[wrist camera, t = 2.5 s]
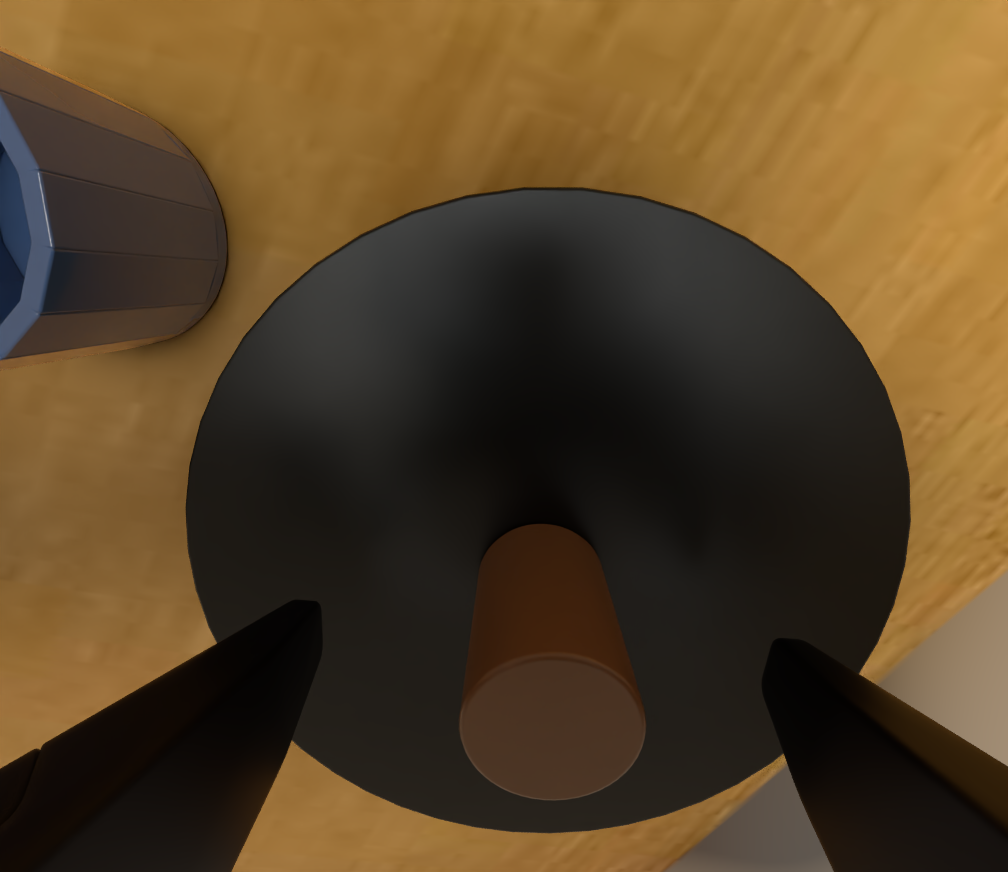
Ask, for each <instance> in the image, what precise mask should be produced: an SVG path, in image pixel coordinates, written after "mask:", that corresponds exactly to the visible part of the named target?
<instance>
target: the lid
mask: <svg viewBox="0 0 1008 872" xmlns="http://www.w3.org/2000/svg"><path fill="white" fill-rule="evenodd" d="M910 522H911V517H910V480H909V472H908V467H907V461H906V456H905V451H904V445H903V440H902V434H901V431H900V428H899V425H898V422H897V419H896V417H895V414H894V411H893V408H892V405H891V403H890V400H889V397H888V394H887V391H886V389H885V386H884V385H883V383H882V381H881V379H880V377H879V375H878V374H877V372H876V370H875V368H874V366H873V365H872V363H871V361H870V359H869V357H868V355H867V354H866V352H865V350H864V348H863V346H862V345H861V343H860V342H859V341H858V339H857V338H856V337H855V336H854V334H853V333H852V332H851V330H850V329H849V328H848V327H847V325H846V324H845V323H844V321H843V320H842V319H841V318H840V316H839V315H838V314H837V312H836V311H835V310H834V309H833V307H832V306H831V305H830V304H829V303H828V302H827V301H826V300H825V299H824V298H823V297H822V296H821V295H820V294H819V293H818V292H817V291H816V290H814V289H813V288H812V287H811V286H810V285H809V284H808V283H807V282H806V281H805V280H804V279H803V278H802V277H801V276H799V275H798V274H797V273H796V272H795V271H794V270H793V269H792V268H791V267H789V266H788V265H786V264H785V263H783V262H782V261H781V260H779V259H778V258H776V257H775V256H773V255H772V254H770V253H769V252H767V251H766V250H764V249H763V248H761V247H760V246H758V245H757V244H755V243H754V242H753V241H751V240H750V239H748V238H747V237H745V236H743V235H741V234H739V233H736V232H734V231H732V230H730V229H728V228H726V227H724V226H722V225H720V224H718V223H715V222H713V221H711V220H709V219H707V218H705V217H703V216H701V215H699V214H697V213H694V212H691V211H688V210H684V209H681V208H678V207H674V206H671V205H668V204H665V203H661V202H658V201H655V200H651V199H648V198H645V197H642V196H636V195H630V194H623V193H616V192H610V191H603V190H596V189H590V188H583V187H522V188H515V189H507V190H500V191H493V192H486V193H479V194H472V195H466V196H462V197H459V198H455V199H452V200H448V201H445V202H442V203H438V204H435V205H431V206H428V207H424V208H421V209H417V210H414V211H411V212H409V213H407V214H404V215H402V216H400V217H398V218H396V219H393V220H391V221H389V222H387V223H385V224H382V225H380V226H378V227H376V228H374V229H372V230H369V231H367V232H365V233H363V234H361V235H359V236H358V237H356V238H354V239H353V240H351V241H350V242H348V243H347V244H345V245H344V246H342V247H340V248H339V249H337V250H336V251H334V252H333V253H331V254H330V255H328V256H327V257H325V258H323V259H322V260H320V261H319V262H317V263H316V264H314V265H313V266H312V267H311V268H310V269H309V270H308V271H307V272H305V273H304V274H303V275H302V276H301V277H300V278H299V279H297V280H296V281H295V282H294V283H293V284H292V285H291V286H289V287H288V288H287V289H286V290H285V291H284V292H283V293H282V294H280V295H279V296H278V297H277V298H276V299H275V300H274V301H273V303H272V304H271V305H270V306H269V307H268V309H267V310H266V311H265V312H264V313H263V314H262V316H261V317H260V318H259V319H258V320H257V322H256V323H255V324H254V325H253V326H252V328H251V329H250V330H249V331H248V332H247V333H246V335H245V336H244V337H243V339H242V340H241V342H240V344H239V345H238V347H237V349H236V350H235V352H234V354H233V355H232V357H231V358H230V360H229V362H228V363H227V365H226V367H225V368H224V370H223V372H222V373H221V375H220V377H219V378H218V381H217V383H216V385H215V388H214V390H213V393H212V395H211V397H210V400H209V402H208V405H207V407H206V409H205V412H204V414H203V416H202V419H201V421H200V425H199V429H198V433H197V437H196V441H195V445H194V449H193V453H192V457H191V461H190V466H189V477H188V487H187V498H186V525H187V543H188V553H189V558H190V563H191V568H192V573H193V578H194V583H195V588H196V592H197V594H198V597H199V600H200V603H201V606H202V609H203V612H204V614H205V617H206V620H207V623H208V626H209V628H210V630H211V632H212V634H213V636H214V638H215V640H216V642H217V643H219V642H220V641H222V640H224V639H226V638H227V637H229V636H231V635H233V634H234V633H236V632H238V631H239V630H241V629H243V628H245V627H246V626H248V625H250V624H252V623H253V622H255V621H257V620H258V619H260V618H262V617H264V616H265V615H267V614H269V613H271V612H272V611H274V610H276V609H277V608H279V607H281V606H283V605H284V604H286V603H288V602H290V601H292V600H310V601H317V602H318V603H319V604H320V606H321V610H322V633H323V650H322V655H321V659H320V662H319V665H318V668H317V671H316V674H315V676H314V679H313V682H312V685H311V688H310V690H309V693H308V696H307V699H306V701H305V704H304V707H303V710H302V713H301V715H300V718H299V721H298V724H297V727H296V729H295V732H294V735H293V738H292V741H293V742H294V743H295V744H297V745H298V746H299V747H300V748H301V749H302V750H303V751H305V752H306V753H308V754H309V755H310V756H312V757H313V758H314V759H316V760H317V761H319V762H320V763H321V764H323V765H324V766H325V767H327V768H328V769H330V770H331V771H332V772H334V773H336V774H337V775H339V776H341V777H342V778H344V779H346V780H348V781H349V782H351V783H353V784H355V785H356V786H358V787H360V788H362V789H363V790H365V791H367V792H369V793H371V794H374V795H376V796H378V797H380V798H383V799H385V800H387V801H389V802H392V803H394V804H396V805H398V806H401V807H403V808H406V809H409V810H412V811H416V812H419V813H422V814H425V815H428V816H431V817H434V818H437V819H441V820H445V821H450V822H454V823H458V824H463V825H467V826H472V827H477V828H485V829H493V830H501V831H509V832H528V833H563V832H579V831H591V830H598V829H604V828H610V827H617V826H623V825H629V824H633V823H636V822H640V821H644V820H648V819H652V818H656V817H660V816H663V815H667V814H669V813H672V812H675V811H678V810H680V809H683V808H686V807H688V806H691V805H694V804H697V803H699V802H702V801H704V800H706V799H708V798H710V797H712V796H714V795H716V794H718V793H721V792H723V791H725V790H727V789H729V788H731V787H733V786H735V785H737V784H739V783H740V782H742V781H743V780H745V779H747V778H748V777H750V776H751V775H753V774H755V773H756V772H758V771H759V770H761V769H763V768H764V767H766V766H767V765H769V764H771V763H772V762H773V761H775V760H776V759H777V758H778V757H780V756H781V755H782V754H783V750H782V747H781V745H780V742H779V739H778V736H777V734H776V731H775V728H774V725H773V722H772V720H771V717H770V714H769V711H768V709H767V706H766V703H765V700H764V697H763V694H762V687H761V682H762V676H763V672H764V669H765V665H766V662H767V658H768V654H769V651H770V647H771V645H772V643H773V641H774V640H775V639H777V638H789V639H800V640H804V641H806V642H808V643H809V644H811V645H813V646H814V647H816V648H817V649H819V650H821V651H822V652H824V653H826V654H827V655H829V656H830V657H832V658H834V659H835V660H837V661H838V662H840V663H842V664H843V665H845V666H847V667H848V668H850V669H851V670H853V671H855V672H856V673H858V674H859V673H860V671H861V669H862V668H863V666H864V665H865V663H866V661H867V660H868V658H869V656H870V655H871V653H872V651H873V650H874V648H875V646H876V645H877V643H878V641H879V638H880V636H881V634H882V631H883V629H884V627H885V625H886V622H887V620H888V618H889V615H890V613H891V611H892V608H893V606H894V603H895V599H896V596H897V592H898V589H899V585H900V581H901V578H902V574H903V571H904V567H905V562H906V554H907V546H908V538H909V530H910Z"/></svg>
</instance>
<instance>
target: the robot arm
mask: <svg viewBox="0 0 1008 872" xmlns="http://www.w3.org/2000/svg"><path fill="white" fill-rule="evenodd" d="M322 650H323V633H322V610H321V606H320V604H319V603H318V602H317V601H310V600H292V601H290V602H288V603H286V604H284V605H283V606H281V607H279V608H277V609H276V610H274V611H272V612H271V613H269V614H267V615H265V616H264V617H262V618H260V619H258V620H257V621H255V622H253V623H252V624H250V625H248V626H246V627H245V628H243V629H241V630H239V631H238V632H236V633H234V634H233V635H231V636H229V637H227V638H226V639H224V640H222V641H220V642H219V643H217V644H215V645H214V646H212V647H210V648H208V649H207V650H205V651H203V652H201V653H200V654H198V655H196V656H195V657H193V658H191V659H189V660H188V661H186V662H184V663H182V664H181V665H179V666H177V667H176V668H174V669H172V670H170V671H169V672H167V673H165V674H163V675H162V676H160V677H158V678H157V679H155V680H153V681H151V682H150V683H148V684H146V685H144V686H143V687H141V688H139V689H138V690H136V691H134V692H132V693H131V694H129V695H127V696H125V697H124V698H122V699H120V700H119V701H117V702H115V703H113V704H112V705H110V706H108V707H106V708H105V709H103V710H101V711H99V712H98V713H96V714H94V715H93V716H91V717H89V718H87V719H86V720H84V721H82V722H80V723H79V724H77V725H75V726H74V727H72V728H70V729H68V730H67V731H65V732H63V733H61V734H60V735H58V736H56V737H54V738H53V739H51V740H49V741H48V742H46V743H45V744H43V746H42V747H41V750H39V749H34V750H32V751H30V752H28V753H27V754H25V755H23V756H21V757H20V758H18V759H16V760H14V761H13V762H11V763H9V764H8V765H6V766H4V767H2V768H1V769H0V872H231V871H232V869H233V867H234V865H235V863H236V861H237V858H238V856H239V854H240V852H241V850H242V848H243V846H244V844H245V842H246V840H247V837H248V835H249V833H250V831H251V829H252V827H253V825H254V823H255V821H256V819H257V816H258V814H259V812H260V810H261V808H262V806H263V804H264V802H265V800H266V798H267V795H268V793H269V791H270V789H271V787H272V785H273V783H274V781H275V779H276V777H277V774H278V772H279V770H280V768H281V765H282V763H283V761H284V759H285V756H286V754H287V751H288V748H289V746H290V743H291V741H292V738H293V735H294V732H295V729H296V727H297V724H298V721H299V718H300V715H301V713H302V710H303V707H304V704H305V701H306V699H307V696H308V693H309V690H310V688H311V685H312V682H313V679H314V676H315V674H316V671H317V668H318V665H319V662H320V659H321V655H322ZM761 687H762V694H763V697H764V700H765V703H766V706H767V709H768V711H769V714H770V717H771V720H772V722H773V725H774V728H775V731H776V734H777V736H778V739H779V742H780V745H781V747H782V750H783V753H784V756H785V759H786V761H787V764H788V767H789V770H790V772H791V775H792V778H793V780H794V783H795V786H796V788H797V791H798V793H799V796H800V799H801V801H802V803H803V805H804V808H805V810H806V812H807V815H808V817H809V819H810V821H811V823H812V826H813V828H814V830H815V832H816V834H817V836H818V838H819V840H820V843H821V845H822V847H823V849H824V851H825V854H826V856H827V858H828V860H829V862H830V864H831V866H832V868H833V871H834V872H1008V766H1006V765H1005V764H1003V763H1001V762H1000V761H998V760H996V759H995V758H993V757H992V756H990V755H988V754H987V753H985V752H983V751H982V750H980V749H979V748H977V747H976V746H974V745H972V744H971V743H969V742H967V741H966V740H964V739H962V738H961V737H959V736H958V735H956V734H955V733H953V732H951V731H949V730H948V729H946V728H945V727H943V726H942V725H940V724H938V723H937V722H935V721H934V720H932V719H930V718H929V717H927V716H925V715H924V714H922V713H920V712H919V711H917V710H915V709H914V708H913V707H911V706H909V705H908V704H906V703H905V702H903V701H901V700H900V699H898V698H897V697H895V696H893V695H892V694H890V693H888V692H887V691H885V690H883V689H882V688H880V687H879V686H877V685H876V684H874V683H872V682H871V681H869V680H867V679H866V678H864V677H863V676H861V675H859V674H858V673H856V672H855V671H853V670H851V669H850V668H848V667H847V666H845V665H843V664H842V663H840V662H838V661H837V660H835V659H834V658H832V657H830V656H829V655H827V654H826V653H824V652H822V651H821V650H819V649H817V648H816V647H814V646H813V645H811V644H809V643H808V642H806V641H804V640H800V639H789V638H777V639H775V640H774V641H773V643H772V645H771V647H770V651H769V654H768V658H767V662H766V665H765V669H764V672H763V676H762V682H761Z"/></svg>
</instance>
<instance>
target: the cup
mask: <svg viewBox="0 0 1008 872" xmlns="http://www.w3.org/2000/svg"><path fill="white" fill-rule="evenodd" d="M226 258H227V237H226V230H225V224H224V219H223V215H222V212H221V208H220V205H219V202H218V200H217V197H216V194H215V192H214V190H213V188H212V186H211V184H210V182H209V180H208V178H207V176H206V174H205V173H204V171H203V170H202V168H201V167H200V165H199V164H198V162H197V161H196V159H195V158H194V157H193V156H192V154H191V153H190V152H189V151H188V149H187V148H186V147H185V146H184V145H183V144H182V143H181V142H180V141H179V140H178V139H177V138H176V137H175V136H174V135H173V134H172V133H171V132H169V131H168V130H167V129H166V128H164V127H163V126H162V125H160V124H159V123H158V122H156V121H155V120H153V119H151V118H150V117H148V116H146V115H145V114H143V113H141V112H139V111H137V110H135V109H132V108H130V107H128V106H126V105H124V104H122V103H120V102H118V101H117V100H115V99H113V98H111V97H109V96H107V95H105V94H103V93H101V92H98V91H96V90H94V89H92V88H90V87H88V86H85V85H83V84H81V83H79V82H77V81H74V80H72V79H70V78H68V77H66V76H63V75H61V74H59V73H57V72H55V71H53V70H50V69H48V68H46V67H44V66H42V65H39V64H37V63H35V62H33V61H31V60H29V59H26V58H24V57H22V56H20V55H18V54H15V53H13V52H11V51H9V50H7V49H4V48H2V47H0V371H1V370H7V369H13V368H19V367H25V366H31V365H37V364H43V363H49V362H55V361H60V360H66V359H72V358H78V357H84V356H90V355H96V354H102V353H108V352H114V351H119V350H125V349H131V348H137V347H142V346H144V345H147V344H150V343H155V342H160V341H163V340H167V339H170V338H172V337H175V336H177V335H179V334H181V333H183V332H184V331H186V330H187V329H189V328H190V327H192V326H193V325H194V324H195V323H196V322H198V321H199V320H200V319H201V318H202V317H203V315H204V314H205V313H206V312H207V310H208V309H209V308H210V307H211V305H212V303H213V301H214V300H215V298H216V296H217V294H218V292H219V289H220V287H221V284H222V281H223V277H224V273H225V268H226Z"/></svg>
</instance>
